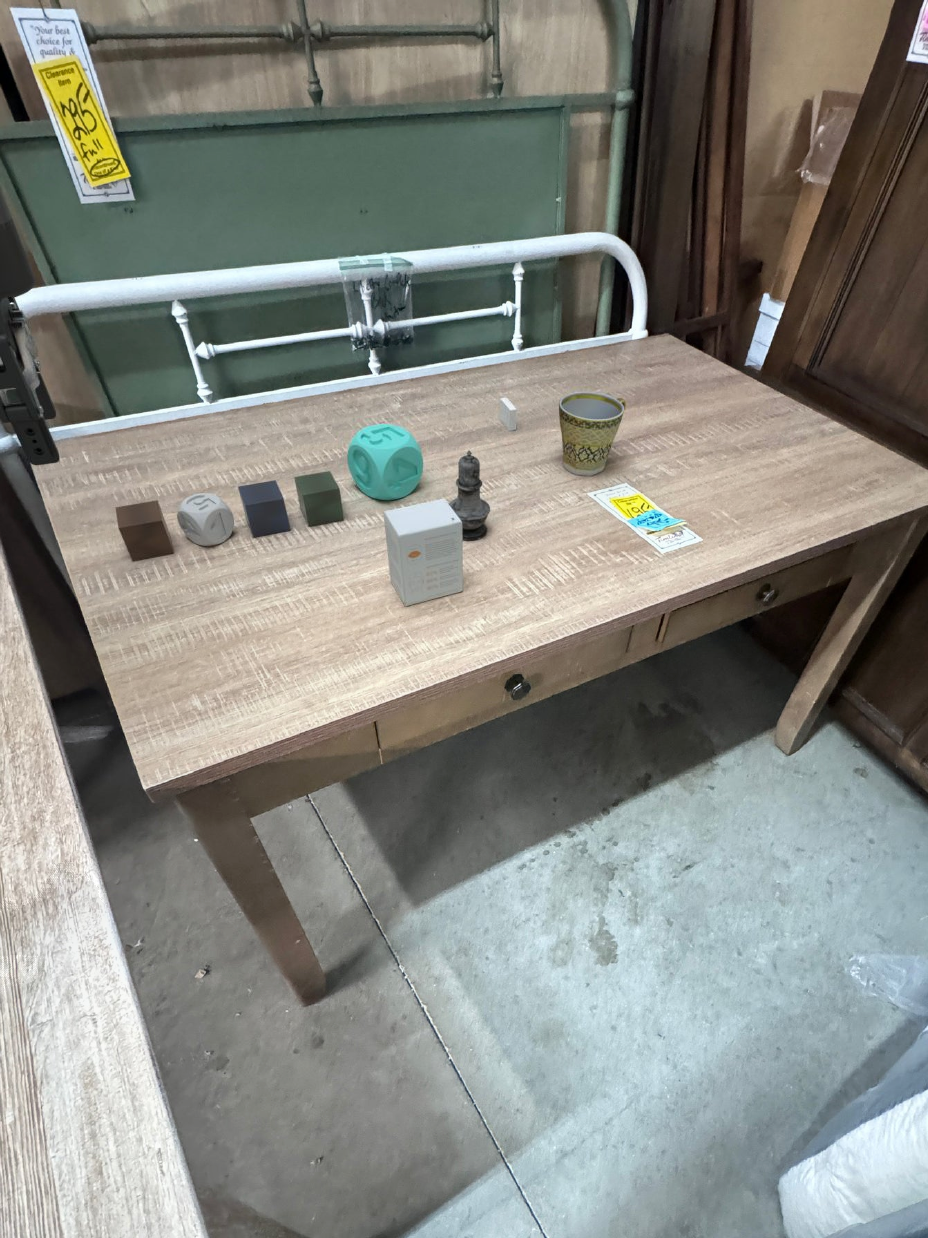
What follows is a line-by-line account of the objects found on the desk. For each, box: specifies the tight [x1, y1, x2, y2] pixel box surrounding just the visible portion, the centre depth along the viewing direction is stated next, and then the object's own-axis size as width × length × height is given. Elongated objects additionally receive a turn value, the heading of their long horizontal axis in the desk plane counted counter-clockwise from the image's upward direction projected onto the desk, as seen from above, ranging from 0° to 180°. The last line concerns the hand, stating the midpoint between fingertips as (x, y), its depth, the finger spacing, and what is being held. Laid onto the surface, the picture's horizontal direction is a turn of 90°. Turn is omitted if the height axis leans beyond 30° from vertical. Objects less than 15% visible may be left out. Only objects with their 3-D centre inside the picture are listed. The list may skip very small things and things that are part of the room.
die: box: [176, 492, 235, 547], centre depth 90 cm, size 5×5×5 cm
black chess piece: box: [448, 449, 491, 542], centre depth 92 cm, size 6×6×12 cm
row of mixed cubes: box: [115, 470, 345, 562], centre depth 92 cm, size 28×5×5 cm, turn 115°
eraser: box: [498, 397, 518, 432], centre depth 119 cm, size 1×5×4 cm, turn 23°
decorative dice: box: [346, 423, 424, 501], centre depth 101 cm, size 8×8×8 cm
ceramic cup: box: [558, 391, 627, 477], centre depth 108 cm, size 13×10×10 cm
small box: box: [382, 498, 464, 607], centre depth 84 cm, size 8×6×10 cm
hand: (45, 439), depth 58 cm, fingers open, 8 cm apart
